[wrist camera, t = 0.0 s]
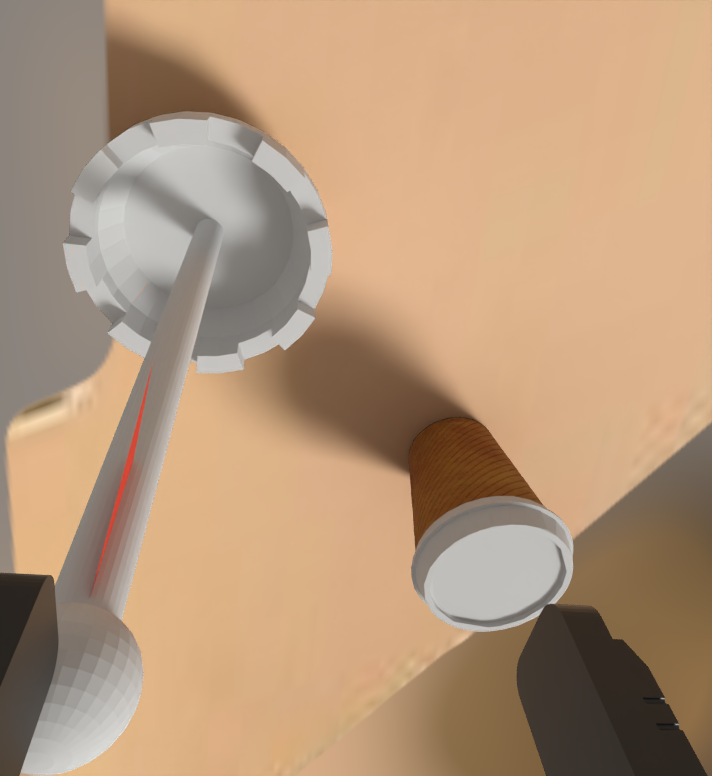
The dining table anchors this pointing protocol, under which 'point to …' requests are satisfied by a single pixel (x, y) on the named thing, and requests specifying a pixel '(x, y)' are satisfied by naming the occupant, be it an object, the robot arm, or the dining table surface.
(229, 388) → the dining table surface
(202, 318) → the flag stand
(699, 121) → the dining table surface
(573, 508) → the dining table surface
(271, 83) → the dining table surface
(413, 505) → the disposable coffee cup
